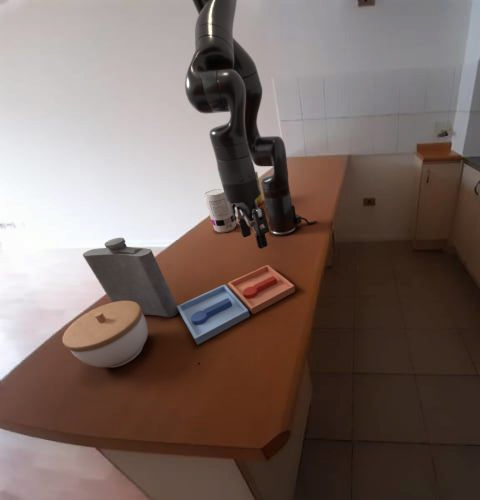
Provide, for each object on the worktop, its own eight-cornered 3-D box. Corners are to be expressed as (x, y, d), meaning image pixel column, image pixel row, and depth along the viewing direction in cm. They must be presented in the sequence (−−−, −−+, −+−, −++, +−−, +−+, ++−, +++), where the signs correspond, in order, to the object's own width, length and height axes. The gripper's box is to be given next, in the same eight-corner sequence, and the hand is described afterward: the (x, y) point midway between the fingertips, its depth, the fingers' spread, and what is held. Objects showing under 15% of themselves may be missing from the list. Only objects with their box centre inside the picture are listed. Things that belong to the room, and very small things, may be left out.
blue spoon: (228, 300, 71) (226, 295, 70) (233, 307, 68) (232, 302, 67) (190, 319, 66) (188, 314, 65) (195, 327, 63) (192, 322, 62)
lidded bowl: (103, 391, 51) (71, 350, 45) (76, 362, 57) (45, 324, 52) (169, 343, 60) (148, 304, 54) (139, 323, 66) (118, 286, 61)
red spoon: (272, 279, 77) (271, 274, 77) (279, 284, 75) (278, 279, 74) (241, 294, 72) (240, 289, 72) (247, 300, 70) (246, 295, 69)
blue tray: (226, 289, 75) (224, 284, 74) (249, 316, 66) (248, 310, 65) (179, 311, 69) (176, 306, 68) (197, 345, 59) (194, 338, 58)
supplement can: (210, 232, 108) (198, 195, 100) (224, 223, 114) (214, 188, 107) (226, 234, 105) (215, 196, 98) (240, 225, 112) (231, 189, 104)
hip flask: (116, 315, 69) (72, 245, 59) (128, 304, 73) (89, 237, 63) (174, 317, 67) (139, 245, 57) (183, 306, 70) (152, 236, 60)
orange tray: (268, 270, 82) (267, 264, 81) (295, 291, 73) (294, 285, 72) (229, 288, 76) (227, 282, 75) (253, 314, 66) (251, 308, 65)
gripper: (269, 179, 58) (282, 245, 67) (240, 168, 68) (254, 227, 76) (236, 188, 54) (254, 257, 63) (210, 176, 64) (228, 237, 72)
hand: (254, 241), depth 69 cm, fingers open, 8 cm apart
